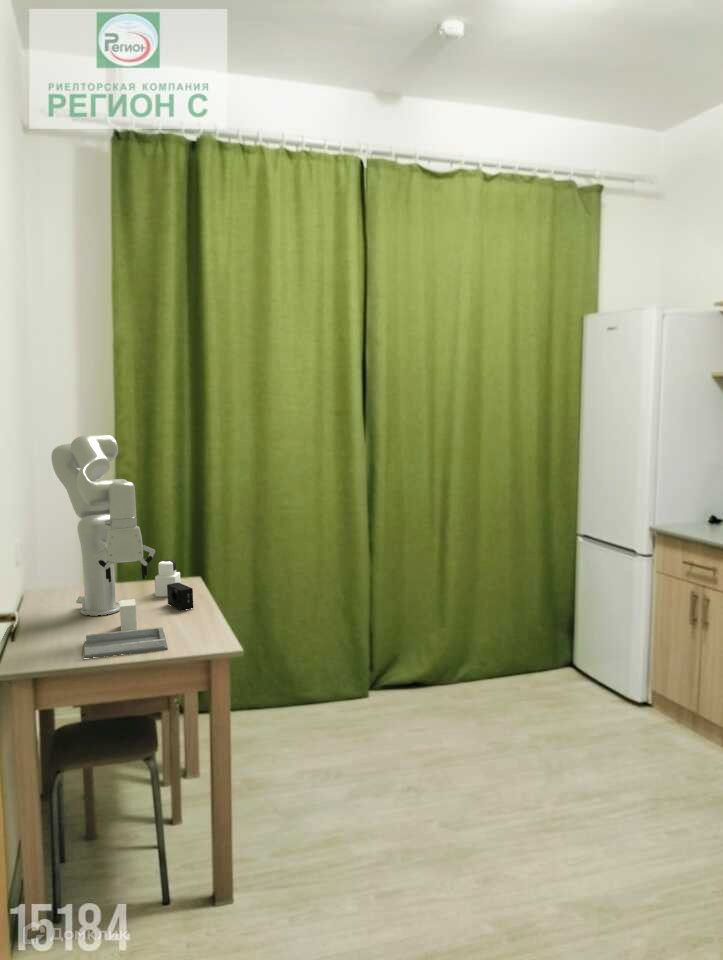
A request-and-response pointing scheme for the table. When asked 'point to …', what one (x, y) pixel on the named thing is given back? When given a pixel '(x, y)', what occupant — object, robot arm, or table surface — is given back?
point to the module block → (128, 615)
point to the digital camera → (180, 596)
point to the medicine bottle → (166, 577)
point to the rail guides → (125, 646)
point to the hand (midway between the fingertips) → (126, 579)
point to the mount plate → (124, 642)
